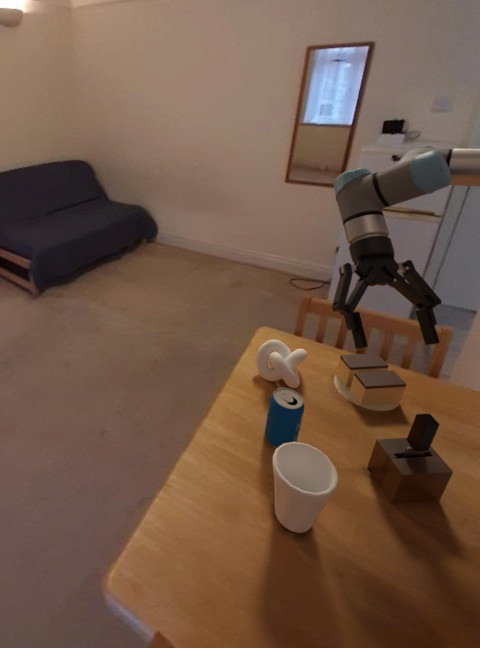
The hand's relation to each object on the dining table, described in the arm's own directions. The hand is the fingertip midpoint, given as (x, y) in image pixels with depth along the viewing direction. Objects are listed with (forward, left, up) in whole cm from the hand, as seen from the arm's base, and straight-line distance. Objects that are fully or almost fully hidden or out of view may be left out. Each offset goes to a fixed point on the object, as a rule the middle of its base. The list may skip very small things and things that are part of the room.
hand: (397, 345), depth 76 cm
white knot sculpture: (+20, -12, -24) cm, 34 cm away
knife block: (-5, +9, -24) cm, 27 cm away
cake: (0, -15, -23) cm, 28 cm away
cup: (+13, +24, -24) cm, 37 cm away
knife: (-5, +9, -24) cm, 27 cm away
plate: (0, -15, -24) cm, 28 cm away
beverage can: (+17, +8, -24) cm, 31 cm away
